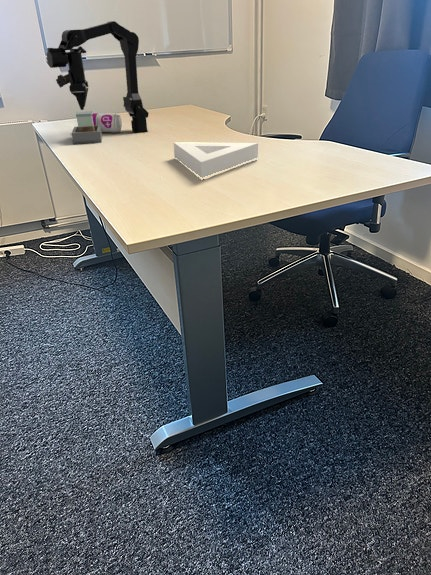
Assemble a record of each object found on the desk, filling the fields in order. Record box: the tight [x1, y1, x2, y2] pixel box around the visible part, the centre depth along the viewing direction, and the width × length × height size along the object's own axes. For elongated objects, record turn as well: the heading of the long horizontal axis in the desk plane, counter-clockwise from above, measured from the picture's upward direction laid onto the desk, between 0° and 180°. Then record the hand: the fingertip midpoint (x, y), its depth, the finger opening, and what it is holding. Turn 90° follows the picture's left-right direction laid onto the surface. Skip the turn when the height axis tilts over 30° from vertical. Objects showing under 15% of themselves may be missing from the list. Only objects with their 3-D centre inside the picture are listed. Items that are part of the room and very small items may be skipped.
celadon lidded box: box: [75, 110, 94, 127], centre depth 182 cm, size 6×6×5 cm
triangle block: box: [173, 141, 259, 178], centre depth 146 cm, size 30×26×6 cm
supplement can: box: [92, 112, 123, 134], centre depth 198 cm, size 8×8×15 cm
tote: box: [71, 125, 103, 145], centre depth 185 cm, size 11×15×4 cm
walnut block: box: [77, 124, 95, 132], centre depth 185 cm, size 6×6×5 cm
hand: (82, 108), depth 180 cm, fingers open, 9 cm apart
